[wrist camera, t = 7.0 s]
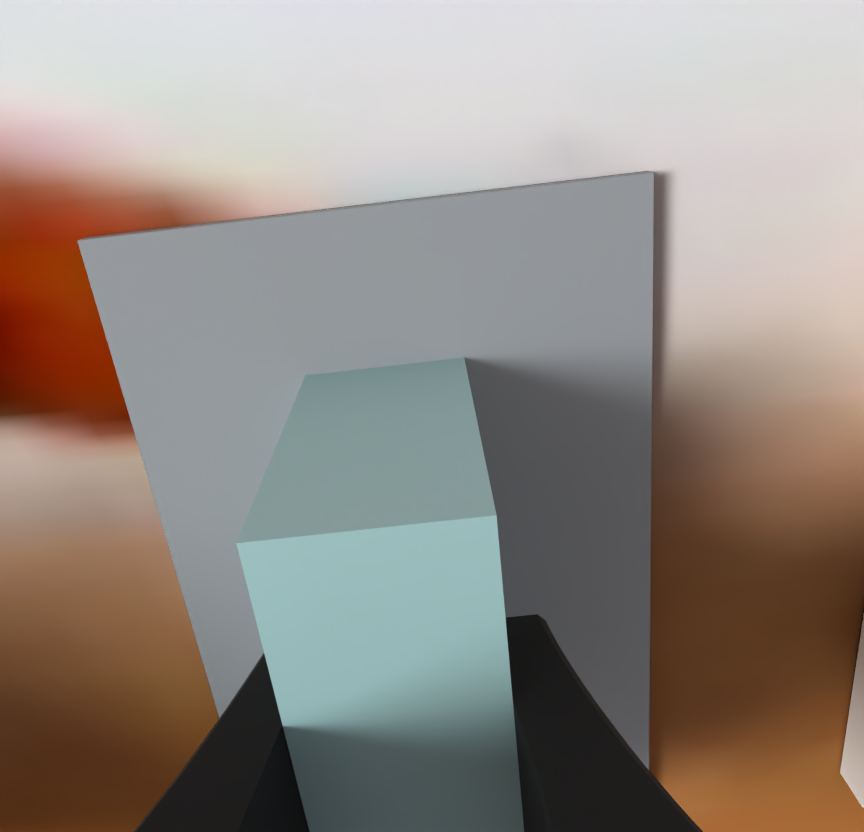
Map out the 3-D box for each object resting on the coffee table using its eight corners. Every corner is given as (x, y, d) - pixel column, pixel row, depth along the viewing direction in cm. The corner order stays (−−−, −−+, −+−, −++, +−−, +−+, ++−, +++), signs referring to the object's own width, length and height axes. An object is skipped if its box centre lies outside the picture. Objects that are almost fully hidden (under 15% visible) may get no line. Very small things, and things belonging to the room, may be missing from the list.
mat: (644, 784, 15) (648, 797, 15) (258, 823, 15) (254, 836, 15) (647, 170, 10) (653, 172, 10) (86, 237, 10) (76, 241, 10)
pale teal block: (502, 750, 14) (542, 1030, 10) (379, 763, 14) (363, 1046, 10) (464, 357, 11) (496, 514, 7) (305, 375, 11) (236, 543, 7)
